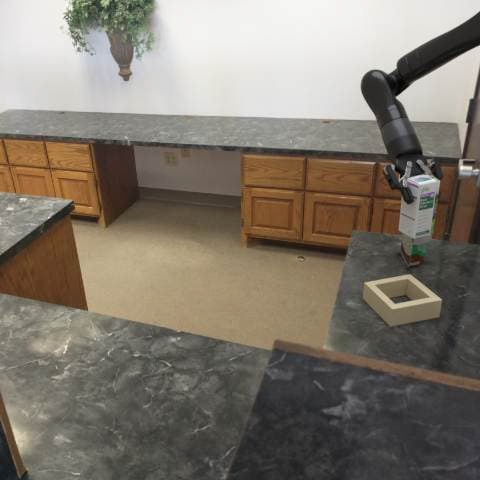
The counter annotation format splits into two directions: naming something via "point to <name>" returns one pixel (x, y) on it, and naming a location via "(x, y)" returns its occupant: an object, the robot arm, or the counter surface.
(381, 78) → the robot arm
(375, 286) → the frame
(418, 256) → the food container
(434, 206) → the syrup box
